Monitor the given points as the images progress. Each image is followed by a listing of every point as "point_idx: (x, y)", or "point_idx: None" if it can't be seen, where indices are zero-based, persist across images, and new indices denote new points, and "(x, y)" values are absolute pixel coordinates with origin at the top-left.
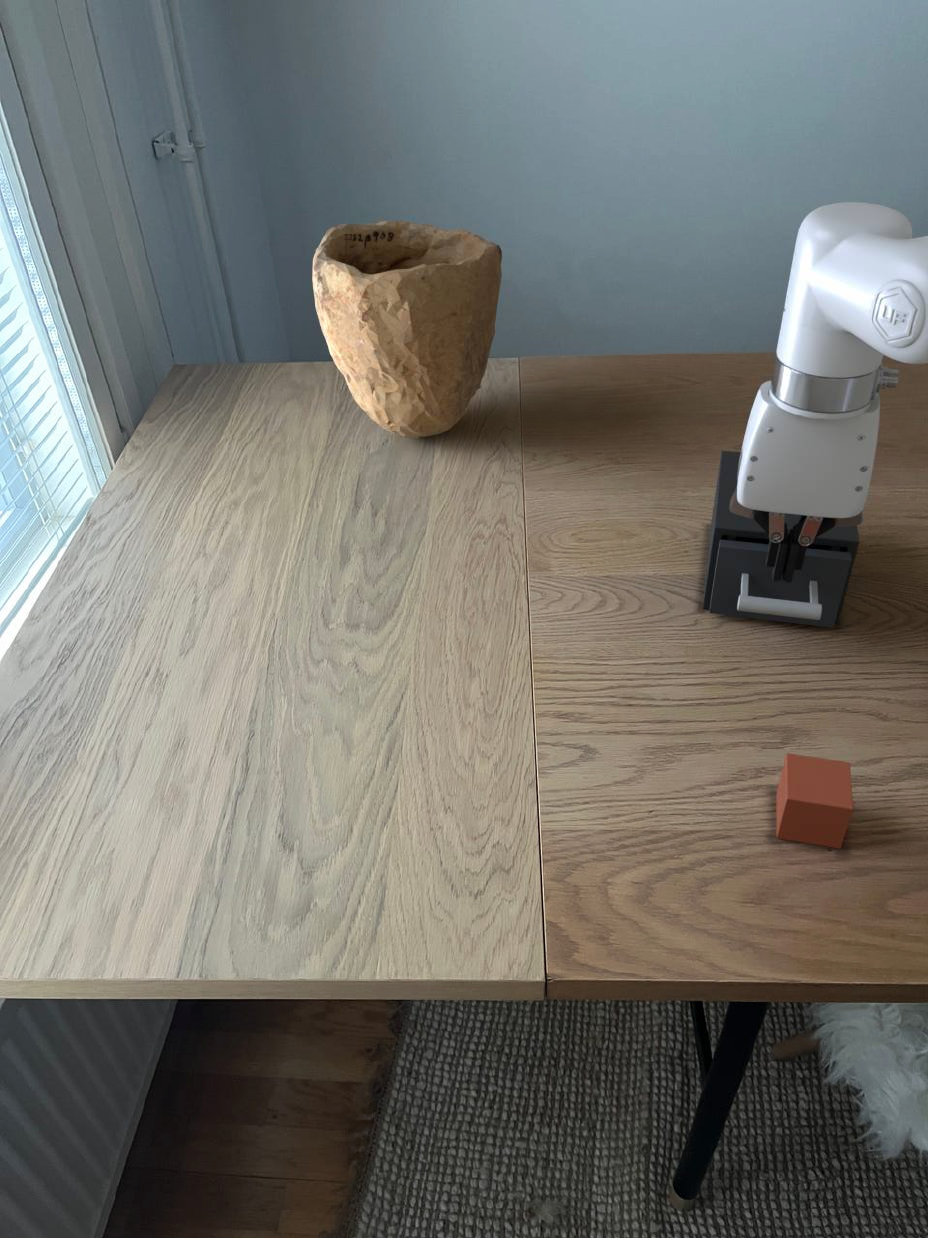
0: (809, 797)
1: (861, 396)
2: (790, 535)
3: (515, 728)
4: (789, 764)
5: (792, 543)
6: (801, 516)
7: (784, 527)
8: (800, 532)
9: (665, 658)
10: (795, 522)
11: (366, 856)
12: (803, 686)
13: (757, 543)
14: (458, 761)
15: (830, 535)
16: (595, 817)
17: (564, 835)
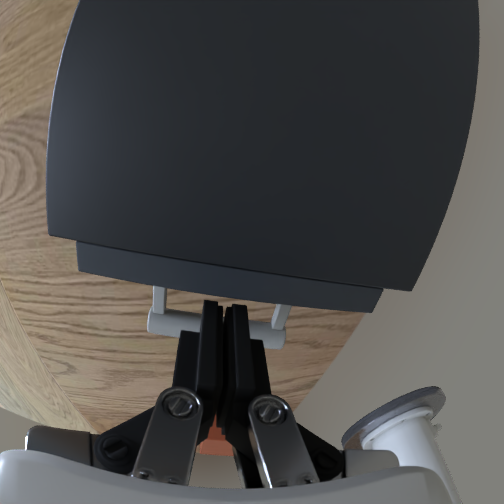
0: (214, 453)
1: None
2: (223, 406)
3: (23, 343)
4: (204, 443)
5: (223, 423)
6: (252, 445)
7: (200, 435)
8: (236, 459)
9: (96, 275)
10: (292, 204)
11: (18, 394)
12: (251, 316)
13: (165, 261)
14: (13, 359)
15: (366, 270)
16: (94, 402)
17: (84, 406)
